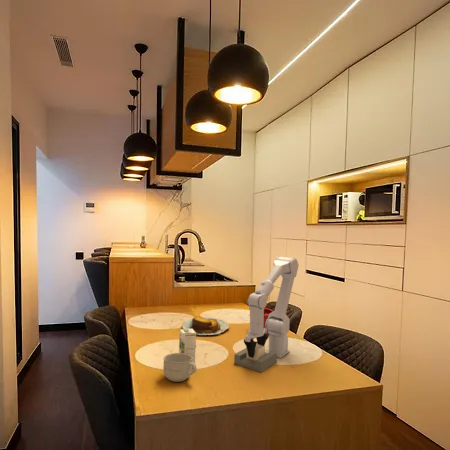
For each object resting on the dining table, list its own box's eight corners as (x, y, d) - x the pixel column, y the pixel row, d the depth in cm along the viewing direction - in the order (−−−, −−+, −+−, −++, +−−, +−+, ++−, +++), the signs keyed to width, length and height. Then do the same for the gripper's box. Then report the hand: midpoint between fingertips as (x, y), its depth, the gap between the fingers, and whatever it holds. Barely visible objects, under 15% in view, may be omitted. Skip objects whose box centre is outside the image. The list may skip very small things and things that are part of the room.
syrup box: (178, 364, 138) (178, 329, 138) (191, 362, 140) (192, 327, 140) (181, 370, 132) (182, 333, 132) (195, 368, 135) (196, 332, 134)
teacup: (157, 377, 126) (157, 356, 126) (180, 369, 133) (181, 349, 133) (179, 391, 116) (180, 368, 116) (203, 381, 123) (204, 360, 123)
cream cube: (252, 357, 145) (252, 342, 145) (264, 361, 142) (264, 346, 142) (246, 361, 141) (246, 346, 141) (258, 365, 138) (258, 349, 138)
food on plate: (235, 326, 192) (235, 314, 191) (218, 340, 168) (218, 327, 168) (194, 320, 201) (194, 309, 201) (172, 333, 177) (173, 320, 177)
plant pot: (244, 331, 181) (244, 309, 181) (260, 327, 190) (261, 306, 190) (262, 338, 172) (263, 315, 172) (278, 333, 180) (279, 311, 180)
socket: (250, 354, 150) (250, 345, 150) (276, 362, 143) (276, 352, 143) (234, 363, 140) (234, 354, 140) (261, 372, 132) (261, 362, 132)
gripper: (257, 316, 149) (256, 347, 149) (239, 324, 138) (238, 357, 138) (271, 319, 145) (270, 350, 145) (253, 327, 134) (253, 361, 134)
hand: (255, 354), depth 141 cm, fingers open, 7 cm apart
